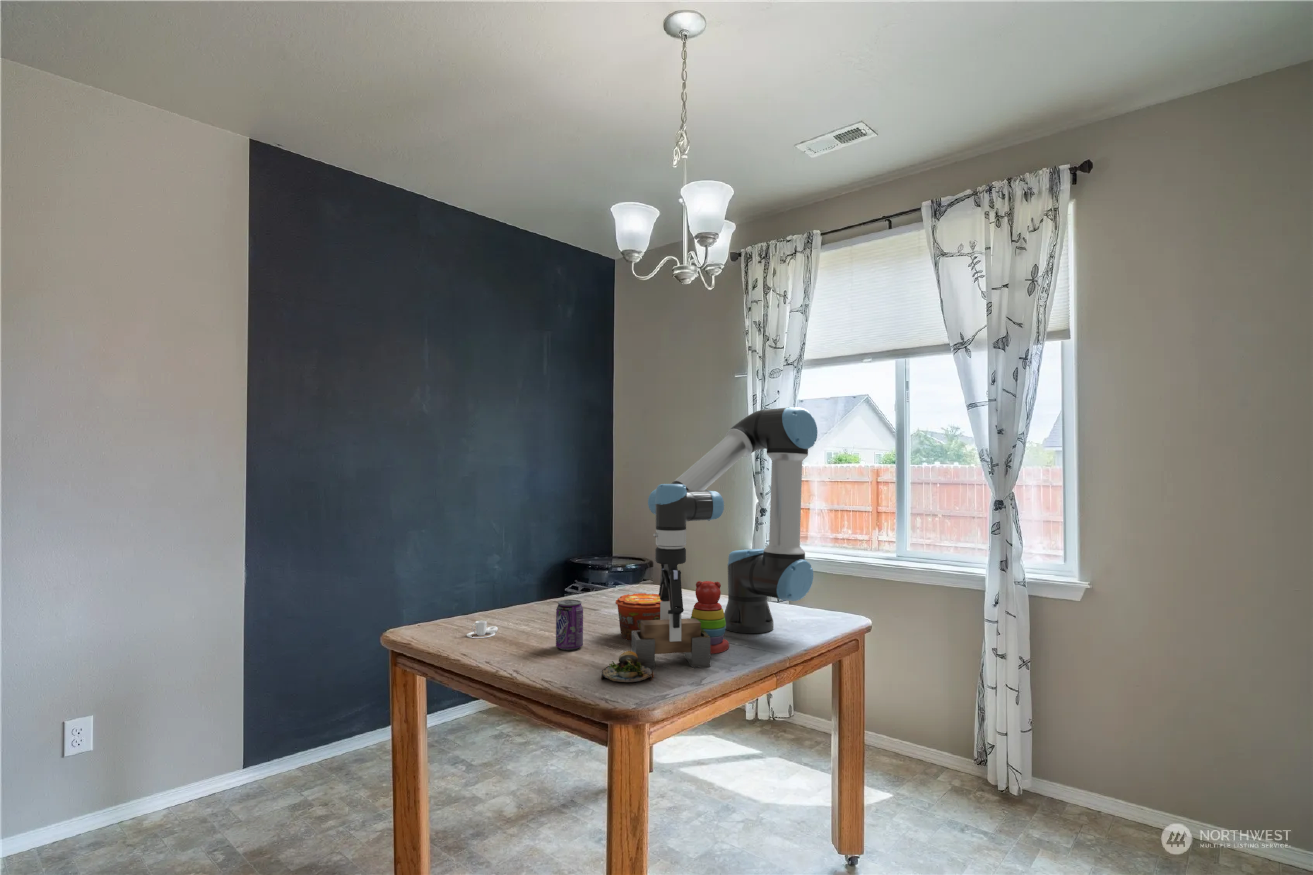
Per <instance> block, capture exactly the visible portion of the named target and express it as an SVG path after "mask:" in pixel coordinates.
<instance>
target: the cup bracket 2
mask: <svg viewBox="0 0 1313 875" xmlns="http://www.w3.org/2000/svg"><path fill="white" fill-rule="evenodd" d="M684 658H685V660H686V661H687V663H688V665H689V666H691V669H692V668H694V669H695V668H710V667H711V654H710V636H709V635H708V634H707V633H706V632H705V631H704V630H703V629H702V628H701V637H691V652H687V653H684Z"/></svg>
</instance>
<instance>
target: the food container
mask: <svg viewBox="0 0 1313 875" xmlns="http://www.w3.org/2000/svg"><path fill="white" fill-rule="evenodd" d="M660 601H661V600H660V597H659V593H657V594H656V593H645V592H644V593H642V592H640V593H633V594H629V593H628V594H627V593H626V594H622V595H620V596H619V597H618V598H617V599H615V605H617V613H618V622H619V629H620V637H621V638H622V639H624V640H626V641H628V642H632V631H638V630H641V620H660ZM668 601H669V600H668Z"/></svg>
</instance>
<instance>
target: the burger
mask: <svg viewBox="0 0 1313 875" xmlns="http://www.w3.org/2000/svg"><path fill="white" fill-rule="evenodd" d="M637 660H638V657H637V654H636V653H634V652H632V650H631V651H630V647H628V650H627V651H624V652H622V653H621V654H620V655H619V657H618V663H615V662H614V661H611V662H612V663H609V664H608V665H609V666H606V667H604V668H603V669H602V670H601V677H600V679H601V680H603V678H605V679H608V680H610V681H613V682H617V683H619V682H621V683H635V682H641V681H643V680H646V679H648V678H650V681H653V679H654V677H655V674H654V669H651V668H649V667H646V666H643V665H641V663H640V662H639V663H638V662H637Z"/></svg>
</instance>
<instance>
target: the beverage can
mask: <svg viewBox="0 0 1313 875" xmlns="http://www.w3.org/2000/svg"><path fill="white" fill-rule="evenodd" d="M557 604H558V605H557V607H556V609H555V646H556V647H557V648H558V649H560V650H562V651H574V650H578V649H579V648H581V647H582V646H584V607H583V604H582V601H581V600H578V599H562V600H559V601H558V602H557Z"/></svg>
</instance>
